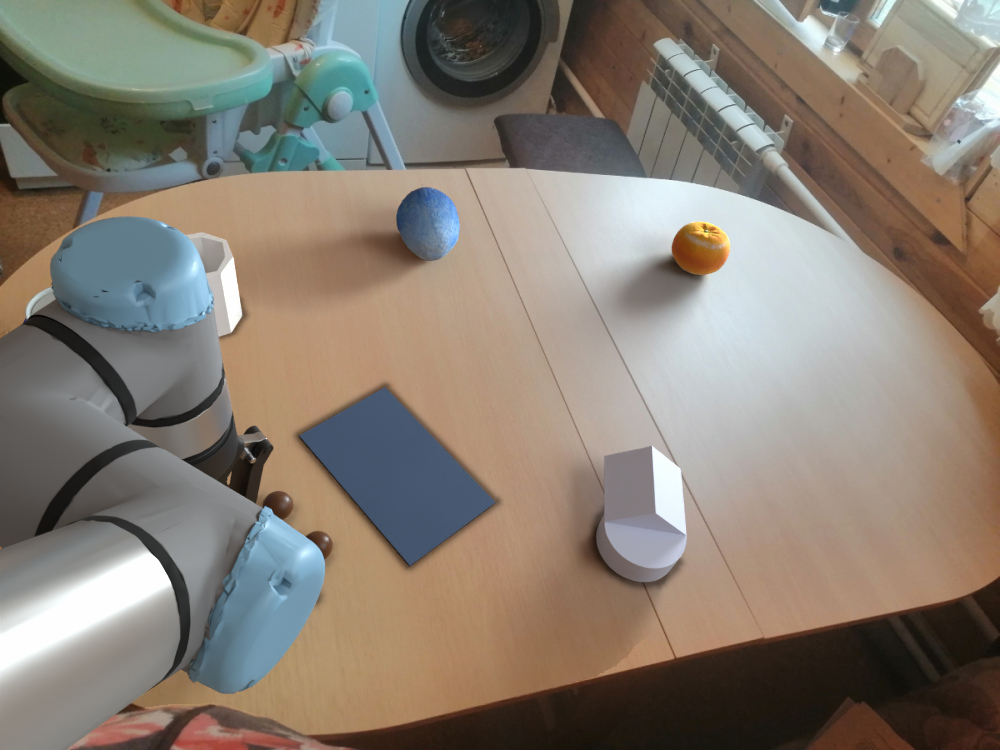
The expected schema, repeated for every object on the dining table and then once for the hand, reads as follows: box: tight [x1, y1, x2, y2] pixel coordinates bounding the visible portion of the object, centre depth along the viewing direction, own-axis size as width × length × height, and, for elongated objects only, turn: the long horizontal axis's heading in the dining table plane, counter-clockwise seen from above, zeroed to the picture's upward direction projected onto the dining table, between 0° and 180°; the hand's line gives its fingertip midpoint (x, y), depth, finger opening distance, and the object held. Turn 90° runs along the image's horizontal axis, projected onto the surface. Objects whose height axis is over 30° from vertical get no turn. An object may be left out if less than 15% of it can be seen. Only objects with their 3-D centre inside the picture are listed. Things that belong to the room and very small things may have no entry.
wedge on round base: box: [595, 445, 688, 583], centre depth 78 cm, size 9×7×13 cm
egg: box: [395, 184, 461, 262], centre depth 103 cm, size 9×9×15 cm
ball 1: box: [262, 490, 294, 521], centre depth 74 cm, size 3×3×3 cm
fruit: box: [671, 221, 731, 276], centre depth 110 cm, size 8×8×8 cm
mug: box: [185, 231, 243, 338], centre depth 86 cm, size 12×9×10 cm
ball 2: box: [305, 530, 334, 561], centre depth 72 cm, size 3×3×3 cm
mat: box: [298, 386, 496, 567], centre depth 81 cm, size 12×20×1 cm, turn 43°
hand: (219, 568), depth 68 cm, fingers closed
